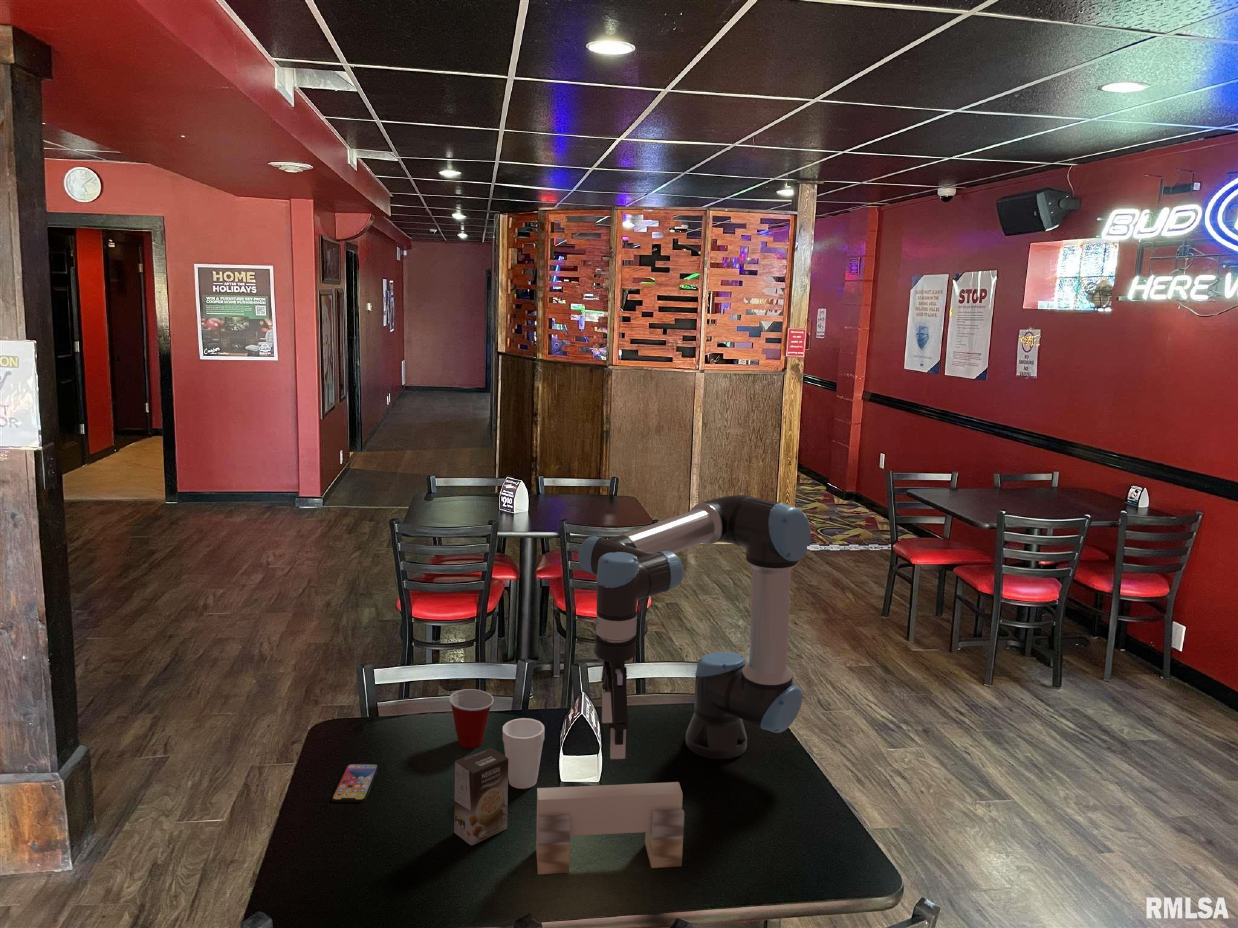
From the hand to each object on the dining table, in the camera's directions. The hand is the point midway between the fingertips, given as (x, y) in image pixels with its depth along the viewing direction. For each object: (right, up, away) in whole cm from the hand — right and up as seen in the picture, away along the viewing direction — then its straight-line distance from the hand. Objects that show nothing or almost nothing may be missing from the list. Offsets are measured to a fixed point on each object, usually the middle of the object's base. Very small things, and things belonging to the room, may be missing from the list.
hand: (613, 739), depth 171 cm
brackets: (-1, -25, +5) cm, 25 cm away
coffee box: (-27, -23, +12) cm, 38 cm away
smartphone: (-58, -19, +28) cm, 67 cm away
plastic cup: (-35, -16, +47) cm, 60 cm away
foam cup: (-21, -19, +31) cm, 42 cm away
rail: (-1, -18, +4) cm, 19 cm away
